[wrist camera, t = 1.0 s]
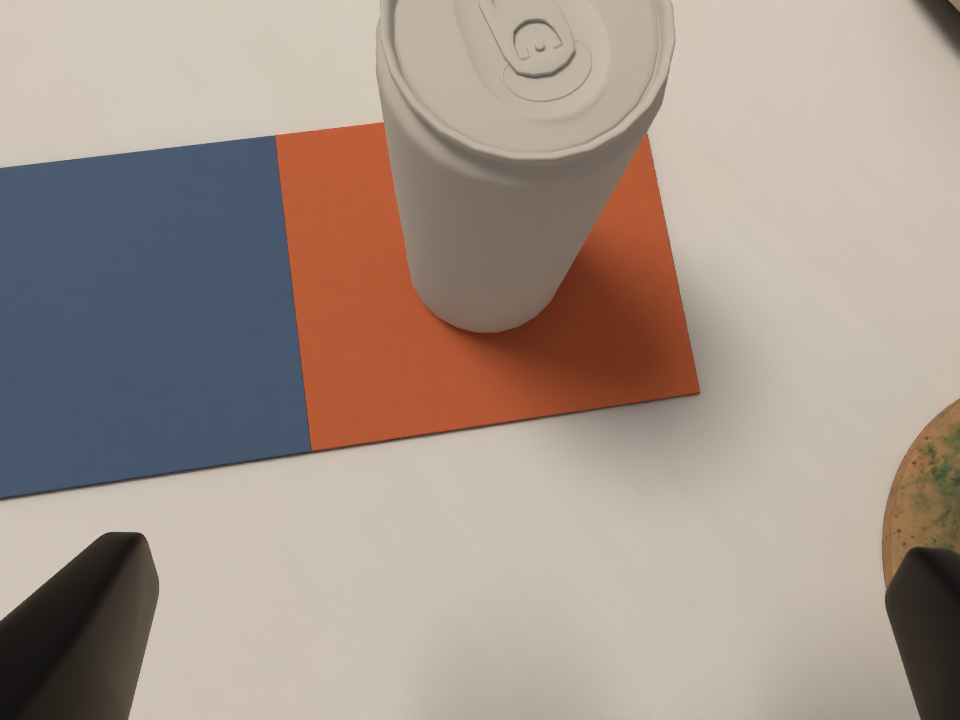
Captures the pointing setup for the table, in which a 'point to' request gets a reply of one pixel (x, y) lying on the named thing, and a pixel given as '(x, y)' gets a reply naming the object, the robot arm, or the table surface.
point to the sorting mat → (287, 313)
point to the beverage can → (511, 138)
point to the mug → (925, 493)
